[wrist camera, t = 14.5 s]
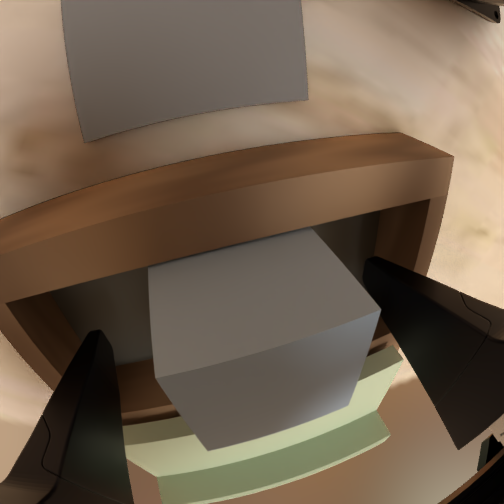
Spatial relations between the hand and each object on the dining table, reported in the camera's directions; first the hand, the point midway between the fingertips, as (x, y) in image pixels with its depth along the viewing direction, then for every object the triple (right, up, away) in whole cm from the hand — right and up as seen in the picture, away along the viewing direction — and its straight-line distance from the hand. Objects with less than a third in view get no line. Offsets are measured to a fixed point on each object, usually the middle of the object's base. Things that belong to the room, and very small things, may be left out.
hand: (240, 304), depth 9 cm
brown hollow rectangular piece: (-1, -1, +4) cm, 4 cm away
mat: (-2, +9, -3) cm, 9 cm away
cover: (+1, -7, +5) cm, 9 cm away
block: (-1, +1, +2) cm, 2 cm away
